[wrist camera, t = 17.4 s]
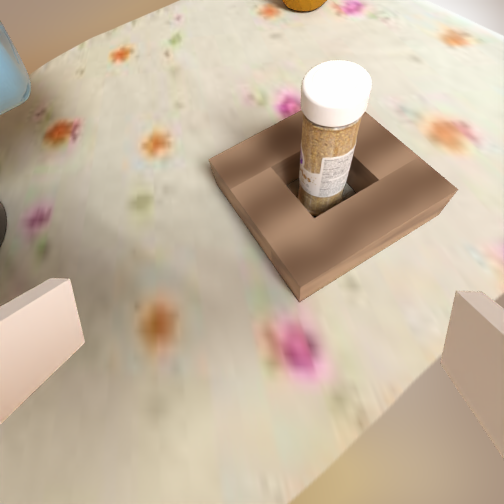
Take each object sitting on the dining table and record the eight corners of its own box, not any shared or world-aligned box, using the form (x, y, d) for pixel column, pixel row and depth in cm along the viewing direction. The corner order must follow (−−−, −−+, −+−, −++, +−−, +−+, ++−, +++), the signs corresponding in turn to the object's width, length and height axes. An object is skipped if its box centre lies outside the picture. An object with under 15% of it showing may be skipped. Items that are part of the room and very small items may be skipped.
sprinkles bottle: (292, 188, 33) (292, 66, 21) (333, 177, 33) (357, 50, 21) (305, 223, 31) (313, 111, 19) (349, 212, 31) (385, 92, 19)
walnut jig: (217, 184, 35) (208, 159, 31) (334, 120, 37) (339, 90, 33) (299, 302, 28) (300, 287, 24) (438, 214, 30) (458, 189, 26)
